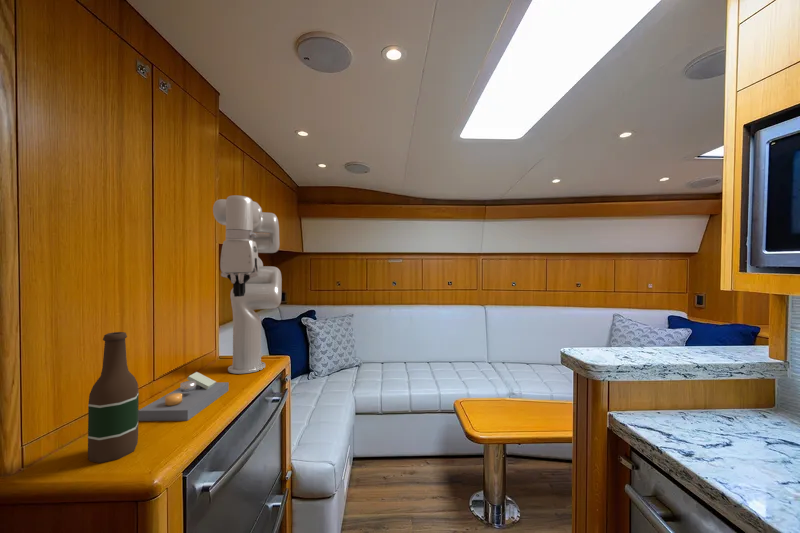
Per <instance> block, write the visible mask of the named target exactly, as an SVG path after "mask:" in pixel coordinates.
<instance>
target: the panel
mask: <svg viewBox="0 0 800 533" xmlns="http://www.w3.org/2000/svg"><path fill="white" fill-rule="evenodd" d="M229 385H230V384H229V382H228V381H227V382H225V381H224V382H217V381H216V383H215V385H213V386H212V387H210V388H209V389H205V388H203V387H201V386H199V385H197V384H196V389H195V390H192V391H188V392H181V391H180V387H178V388H176V389H174V390H173V391H171V392H169V393H167V394H166V395H164V396H161V397H160V398H158V399H157V400H155V401H153V402H151V403H148V404H147V405H146V406H144V407H142V408H139V409H138V422H161V421H162V422H166V421H167V422H169V421H170V422H172V421H173V422H174V421H175V422H177V421H180V422H181V421H183V422H184V421H189V420H190V419H192V418H194V416H196V415H198V414H199V413H200V412H201V411H203V410H204V409H206V408H207V407H208V406H210V405H211V404H213V403H214V402H215V401H217V400H218V399H219V398H221V396H224V394H226V393H227V392H229V388H230V386H229ZM173 393H182V402H181V403H179V404H176V405H170V406H167V405H165V396H167V395H169V394H173Z"/></svg>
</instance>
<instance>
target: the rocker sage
mask: <svg viewBox="0 0 800 533" xmlns="http://www.w3.org/2000/svg"><path fill="white" fill-rule="evenodd" d="M186 381H196V384H197V385H199V386H201V387H203V388H205V389H209V388H210V387H212V386H213V385H215V383H216V382H217V381H216V380H214V379H211V378H210V377H208V376H206V375H204V374H202V373H200V372H198V371H195V372H194V373H192V374H190V375H189V376H188V377H187V378H186Z"/></svg>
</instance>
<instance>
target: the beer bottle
mask: <svg viewBox="0 0 800 533" xmlns="http://www.w3.org/2000/svg"><path fill="white" fill-rule="evenodd" d="M127 337H128V336H127V333H126V332H123V331H115V332H108V333H105V334H104V335H103V338H102V341H104V348H103V358H102V359H103V360H102V369H101V372H100V376H98V379H96V381H95V383H94V384H93V386H92V388H91V390H90V392H89V396H88V407H87V408H88V409H87V410H88V411H87V414H88V415H87V423H88V424H87V425H88V426H87V458H88V459H87V460H88V461H89V462H93V463H98V464H103V463H106V462H107V463H108V462H111V461H116V460H120V459H122V458H124V457H126V456H127V455H130V454H131V453H134V452H135V450H136V447H137V445H138V443H139V442H138V440H139V421H138V410H139V398H140V397H139V396H140V395H139V383H138V381H137V379H136V377H135V375H133V374H132V373H131V372H130V370H129V366H128V359H127V348H126V347H127V346H126V338H127Z"/></svg>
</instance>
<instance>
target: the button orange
mask: <svg viewBox="0 0 800 533" xmlns="http://www.w3.org/2000/svg"><path fill="white" fill-rule="evenodd" d="M168 394H169V393H168ZM166 395H167V394H166ZM164 396H165V395H164ZM181 402H182V393H173V394H169V395H167V396H165V405H167V406H170V405H176V404H179V403H181Z"/></svg>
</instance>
